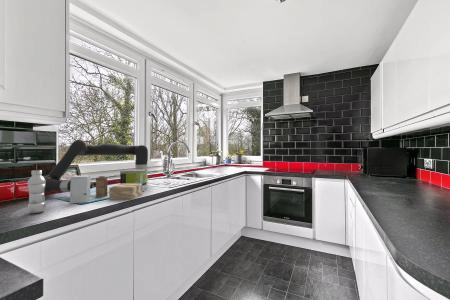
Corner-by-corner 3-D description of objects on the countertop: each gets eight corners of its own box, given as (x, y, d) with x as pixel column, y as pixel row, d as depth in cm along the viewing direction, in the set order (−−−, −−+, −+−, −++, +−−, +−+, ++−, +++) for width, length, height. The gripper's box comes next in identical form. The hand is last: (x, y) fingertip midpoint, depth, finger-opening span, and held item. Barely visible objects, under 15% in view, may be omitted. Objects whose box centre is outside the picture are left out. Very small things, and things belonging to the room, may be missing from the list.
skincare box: (69, 203, 112) (69, 176, 112) (74, 201, 117) (73, 175, 117) (87, 202, 114) (87, 176, 114) (90, 200, 120) (90, 174, 120)
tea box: (146, 189, 153) (146, 169, 153) (140, 191, 143) (139, 170, 143) (127, 188, 154) (127, 169, 154) (119, 191, 144) (119, 170, 144)
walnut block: (100, 195, 131) (100, 175, 131) (107, 195, 131) (107, 175, 131) (95, 197, 126) (95, 176, 126) (103, 197, 126) (102, 176, 126)
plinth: (121, 194, 135) (121, 183, 135) (142, 194, 135) (142, 183, 135) (109, 199, 121) (109, 187, 121) (132, 199, 121) (132, 187, 121)
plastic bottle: (44, 209, 100) (44, 169, 100) (47, 212, 96) (47, 170, 96) (26, 213, 95) (26, 170, 95) (28, 216, 91) (28, 171, 91)
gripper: (62, 181, 122) (88, 181, 122) (79, 178, 136) (103, 178, 136) (62, 194, 122) (88, 194, 122) (79, 189, 136) (103, 189, 136)
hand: (96, 185), depth 129 cm, fingers open, 8 cm apart
